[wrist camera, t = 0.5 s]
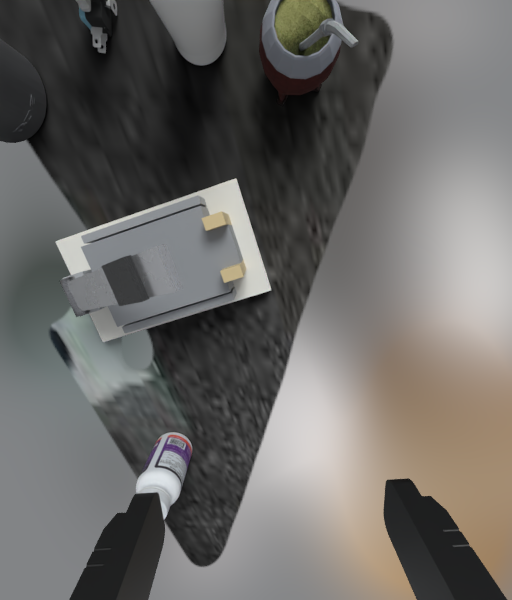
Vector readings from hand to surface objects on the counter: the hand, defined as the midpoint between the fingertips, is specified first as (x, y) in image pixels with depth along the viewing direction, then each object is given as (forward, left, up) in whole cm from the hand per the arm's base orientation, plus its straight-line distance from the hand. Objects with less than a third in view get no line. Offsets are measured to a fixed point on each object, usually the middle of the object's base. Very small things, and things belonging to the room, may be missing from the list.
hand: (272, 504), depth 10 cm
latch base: (-12, -3, -27) cm, 30 cm away
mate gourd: (-12, +22, -27) cm, 37 cm away
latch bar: (-13, -4, -17) cm, 22 cm away
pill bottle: (+3, -24, -27) cm, 36 cm away
